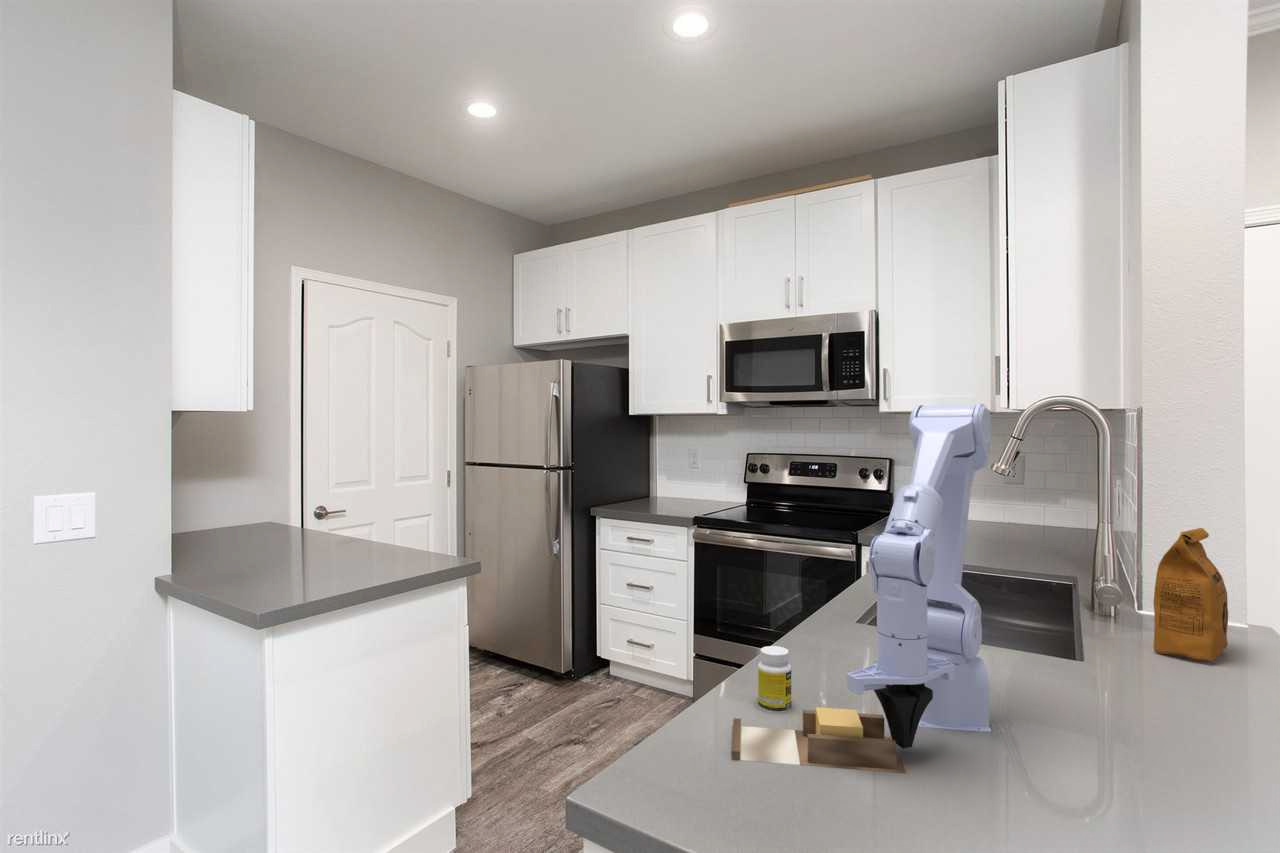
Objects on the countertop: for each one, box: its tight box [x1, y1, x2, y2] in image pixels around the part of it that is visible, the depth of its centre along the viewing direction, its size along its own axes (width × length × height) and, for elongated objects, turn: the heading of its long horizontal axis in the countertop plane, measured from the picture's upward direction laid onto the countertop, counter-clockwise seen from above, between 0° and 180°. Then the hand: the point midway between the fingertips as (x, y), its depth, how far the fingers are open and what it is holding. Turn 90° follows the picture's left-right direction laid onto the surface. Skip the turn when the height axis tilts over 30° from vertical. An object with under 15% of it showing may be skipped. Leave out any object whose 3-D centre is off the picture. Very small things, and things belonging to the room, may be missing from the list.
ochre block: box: [815, 706, 863, 738], centre depth 81 cm, size 5×5×4 cm
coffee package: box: [1152, 527, 1229, 662], centre depth 117 cm, size 10×12×22 cm
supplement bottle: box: [757, 645, 792, 714], centre depth 94 cm, size 5×5×8 cm
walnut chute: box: [731, 709, 908, 774], centre depth 82 cm, size 20×9×4 cm, turn 81°
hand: (902, 744), depth 80 cm, fingers closed
